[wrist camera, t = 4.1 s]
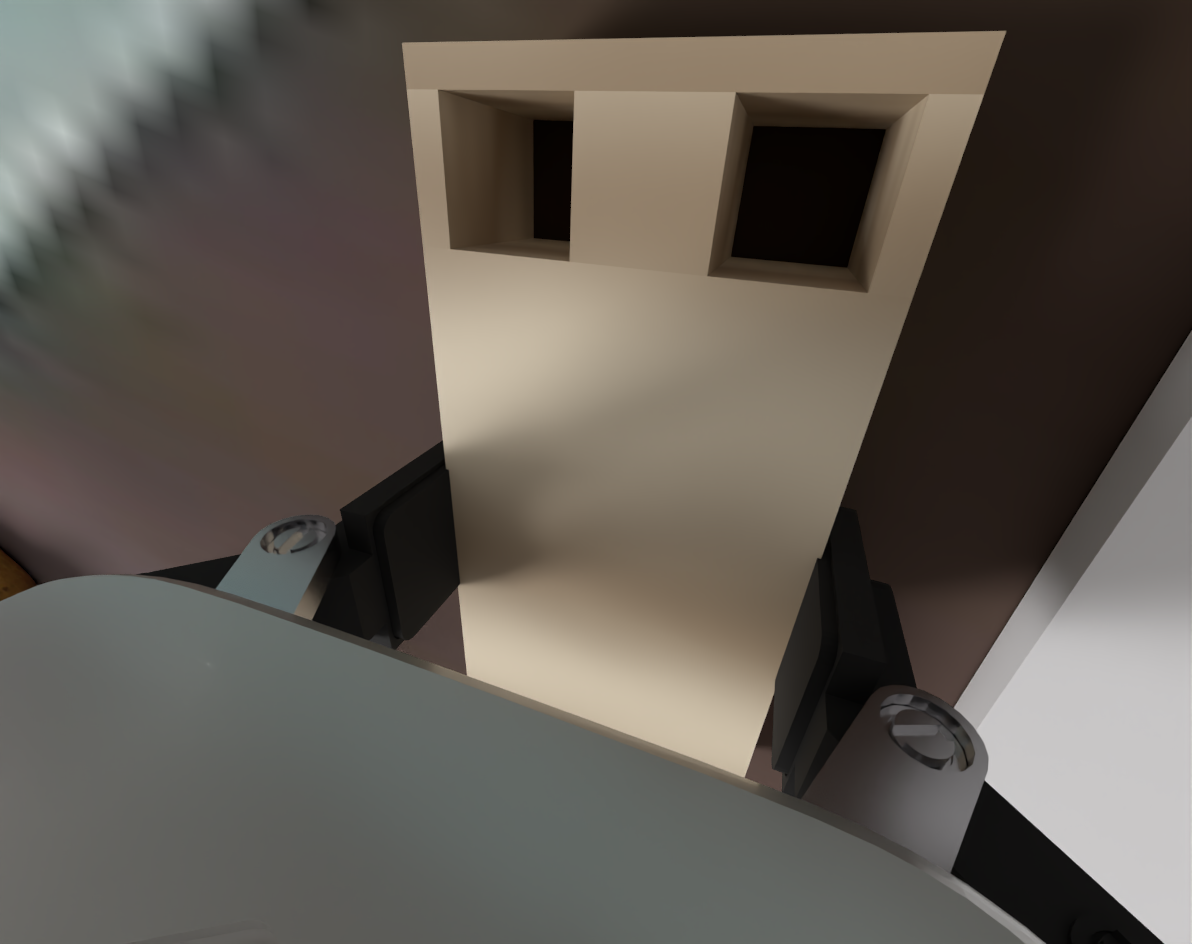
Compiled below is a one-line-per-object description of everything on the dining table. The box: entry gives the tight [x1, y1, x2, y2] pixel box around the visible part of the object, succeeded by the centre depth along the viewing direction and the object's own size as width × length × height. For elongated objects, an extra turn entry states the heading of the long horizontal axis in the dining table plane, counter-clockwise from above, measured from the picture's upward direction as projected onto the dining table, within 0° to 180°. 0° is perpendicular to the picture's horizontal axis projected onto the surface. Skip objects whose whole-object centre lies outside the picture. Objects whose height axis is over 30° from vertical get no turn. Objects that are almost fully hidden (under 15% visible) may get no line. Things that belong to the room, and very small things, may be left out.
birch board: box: [402, 31, 1006, 777], centre depth 11 cm, size 16×7×3 cm, turn 177°
